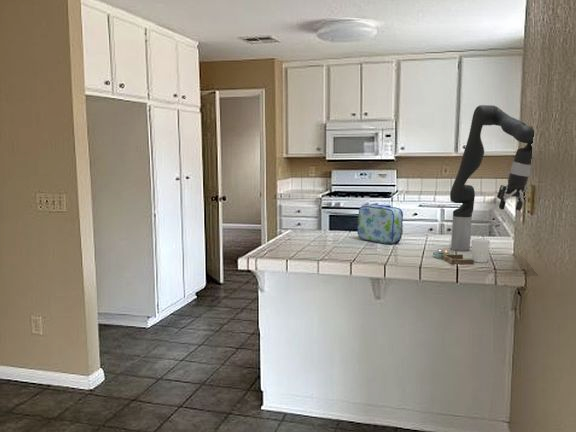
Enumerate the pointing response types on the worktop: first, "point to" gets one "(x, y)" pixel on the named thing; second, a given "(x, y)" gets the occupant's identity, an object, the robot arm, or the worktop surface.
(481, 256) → the white cup
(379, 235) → the lunch box
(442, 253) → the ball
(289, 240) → the worktop surface
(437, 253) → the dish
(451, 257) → the cradle
